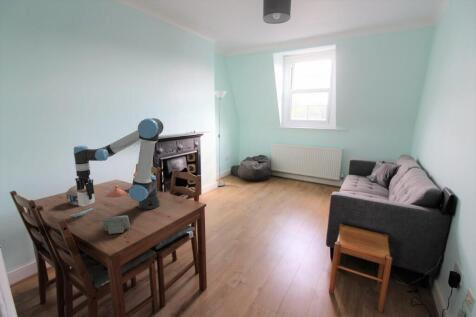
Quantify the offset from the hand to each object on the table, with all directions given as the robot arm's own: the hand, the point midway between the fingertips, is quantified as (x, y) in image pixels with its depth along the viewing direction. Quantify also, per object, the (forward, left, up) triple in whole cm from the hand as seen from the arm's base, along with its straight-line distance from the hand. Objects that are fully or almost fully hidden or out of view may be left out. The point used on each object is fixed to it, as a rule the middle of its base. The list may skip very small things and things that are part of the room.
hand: (87, 203), depth 156 cm
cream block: (0, 0, 0) cm, 0 cm away
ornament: (+23, -11, -8) cm, 27 cm away
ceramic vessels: (+9, -41, -9) cm, 43 cm away
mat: (+10, 0, -8) cm, 13 cm away
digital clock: (-36, +10, -8) cm, 38 cm away
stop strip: (+4, 0, -8) cm, 9 cm away
